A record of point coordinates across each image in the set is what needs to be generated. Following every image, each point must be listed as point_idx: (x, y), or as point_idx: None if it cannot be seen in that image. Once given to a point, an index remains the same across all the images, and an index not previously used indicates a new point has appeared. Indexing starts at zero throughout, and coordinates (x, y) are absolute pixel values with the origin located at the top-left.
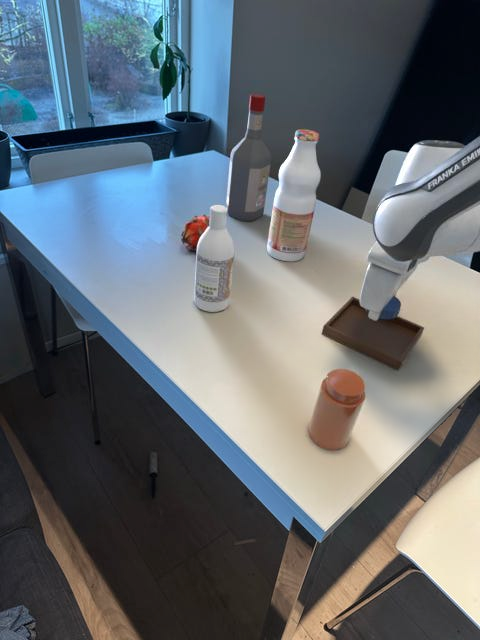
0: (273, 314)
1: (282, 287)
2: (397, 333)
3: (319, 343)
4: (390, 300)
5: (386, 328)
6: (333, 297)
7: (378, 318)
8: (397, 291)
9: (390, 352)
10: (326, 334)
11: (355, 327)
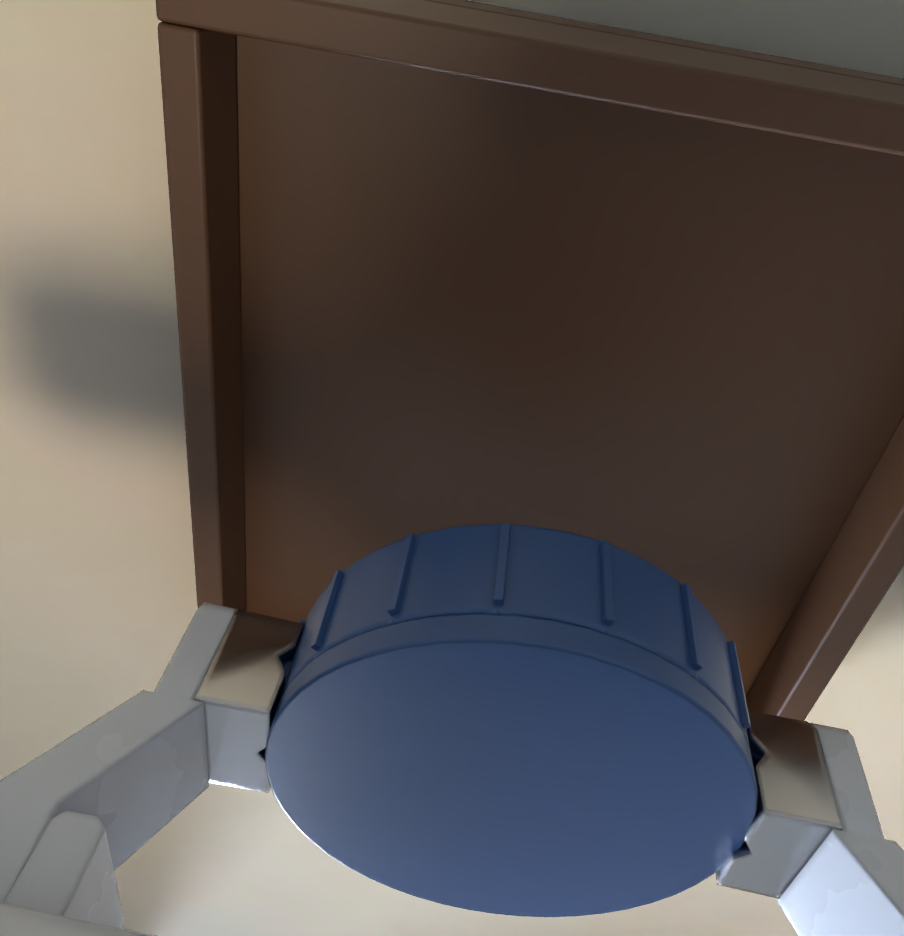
0: (661, 921)
1: (363, 914)
2: (405, 250)
3: (859, 729)
4: (438, 746)
5: (389, 362)
6: None
7: (814, 730)
8: (165, 722)
9: (804, 267)
10: None
11: None
